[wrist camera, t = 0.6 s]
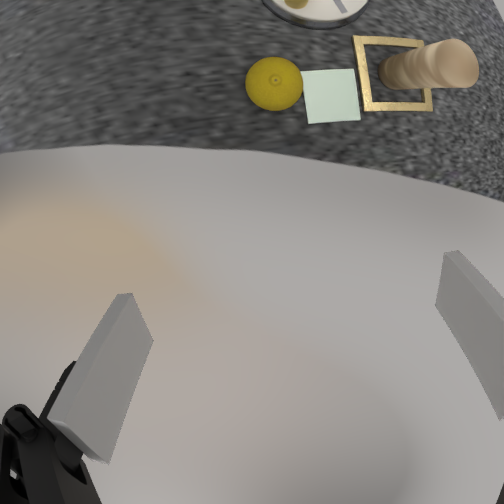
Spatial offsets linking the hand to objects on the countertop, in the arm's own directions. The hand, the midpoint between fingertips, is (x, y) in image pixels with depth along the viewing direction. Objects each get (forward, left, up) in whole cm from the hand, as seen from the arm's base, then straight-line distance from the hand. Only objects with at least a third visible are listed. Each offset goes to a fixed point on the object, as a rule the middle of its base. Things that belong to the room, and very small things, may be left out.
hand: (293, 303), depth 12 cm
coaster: (-8, +7, -25) cm, 27 cm away
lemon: (-10, +1, -25) cm, 27 cm away
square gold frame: (-11, +15, -25) cm, 31 cm away
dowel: (-11, +15, -25) cm, 31 cm away
